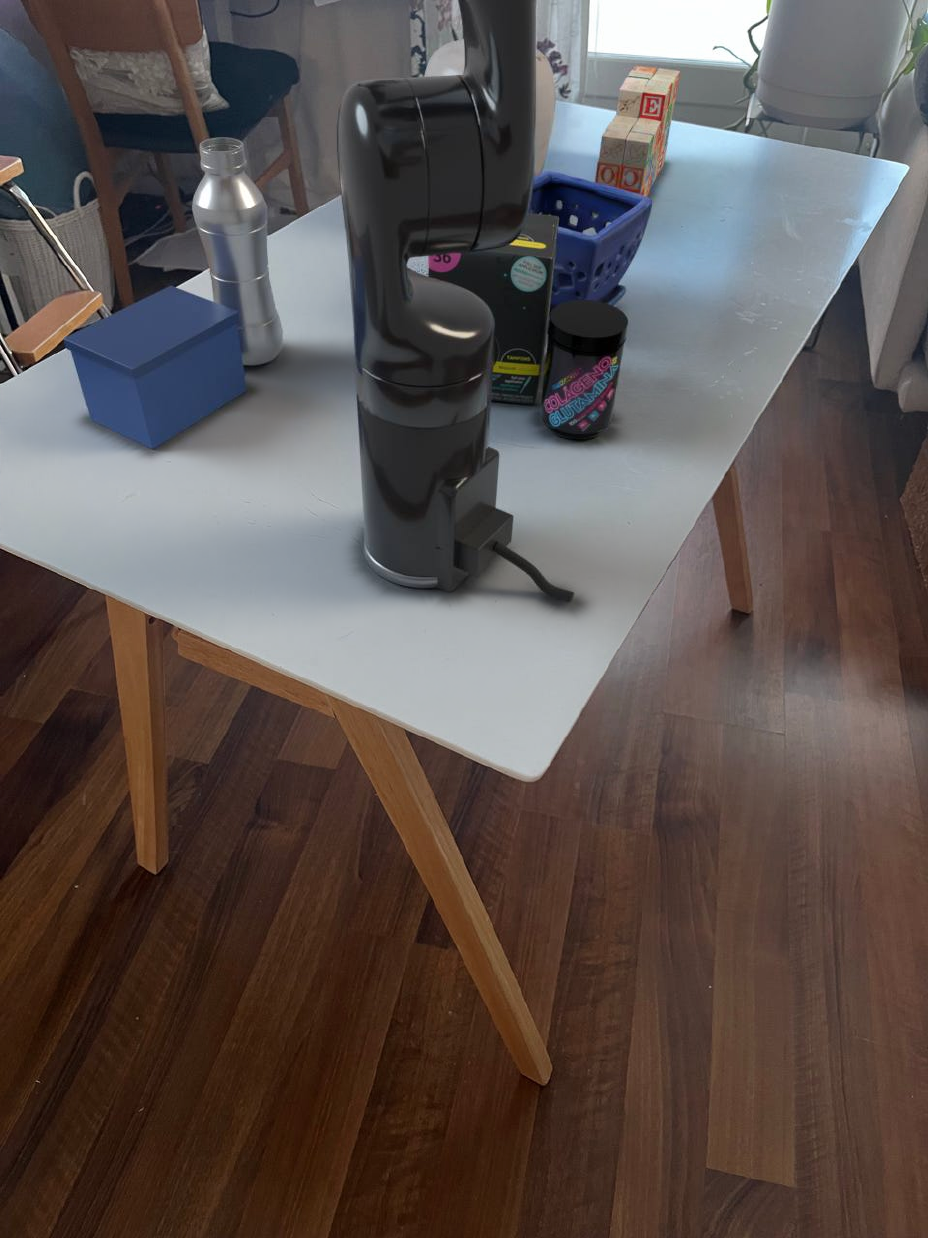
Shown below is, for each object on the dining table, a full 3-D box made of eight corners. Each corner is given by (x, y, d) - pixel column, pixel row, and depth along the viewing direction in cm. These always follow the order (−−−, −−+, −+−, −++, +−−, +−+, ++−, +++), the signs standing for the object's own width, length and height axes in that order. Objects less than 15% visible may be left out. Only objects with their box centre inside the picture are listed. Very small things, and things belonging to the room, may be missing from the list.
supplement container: (524, 424, 87) (534, 319, 79) (563, 394, 90) (576, 292, 83) (585, 451, 84) (602, 345, 76) (624, 419, 88) (643, 316, 80)
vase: (542, 197, 125) (560, -3, 109) (547, 248, 114) (568, 33, 98) (424, 192, 125) (424, -9, 109) (417, 242, 114) (417, 26, 98)
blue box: (250, 390, 89) (238, 311, 83) (152, 451, 82) (132, 368, 76) (186, 363, 92) (171, 284, 86) (87, 419, 85) (62, 338, 79)
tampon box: (424, 394, 90) (424, 243, 79) (439, 347, 96) (442, 202, 86) (538, 407, 89) (553, 255, 78) (545, 358, 95) (561, 212, 85)
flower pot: (582, 354, 96) (598, 239, 88) (474, 317, 101) (479, 205, 92) (638, 306, 104) (657, 196, 96) (534, 273, 109) (544, 166, 100)
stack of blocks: (637, 218, 121) (654, 115, 112) (590, 211, 122) (603, 108, 114) (664, 163, 136) (681, 68, 127) (622, 157, 137) (635, 62, 128)
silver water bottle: (273, 377, 91) (245, 161, 77) (207, 368, 92) (168, 153, 77) (294, 345, 95) (272, 135, 81) (231, 337, 96) (199, 128, 82)
